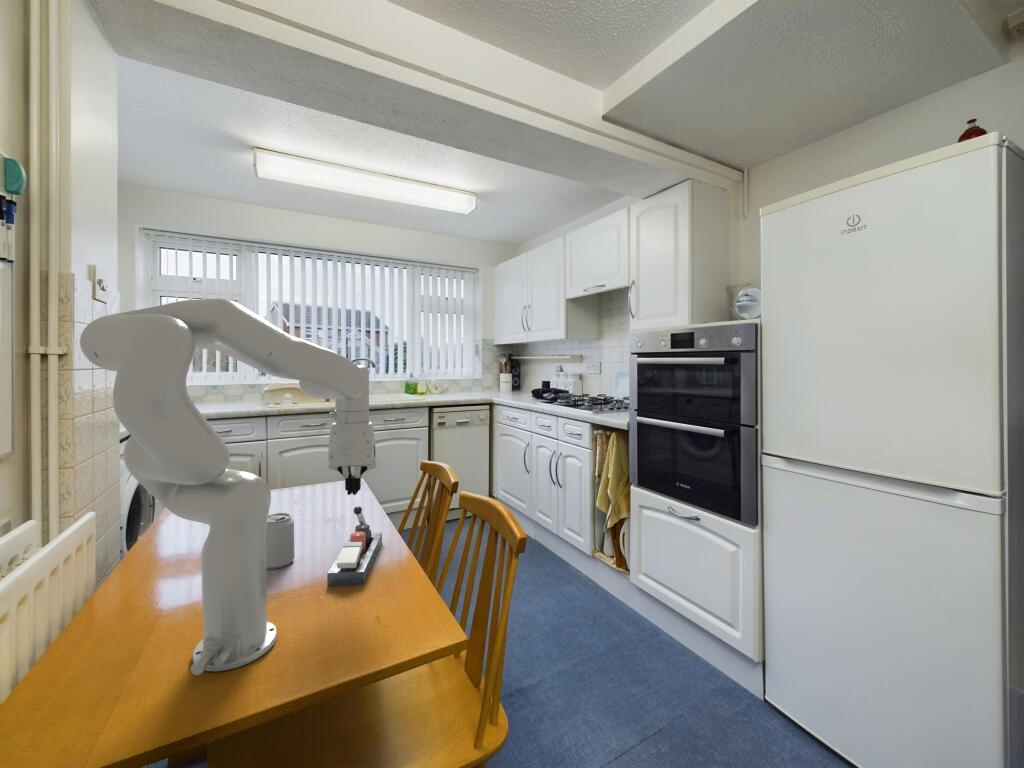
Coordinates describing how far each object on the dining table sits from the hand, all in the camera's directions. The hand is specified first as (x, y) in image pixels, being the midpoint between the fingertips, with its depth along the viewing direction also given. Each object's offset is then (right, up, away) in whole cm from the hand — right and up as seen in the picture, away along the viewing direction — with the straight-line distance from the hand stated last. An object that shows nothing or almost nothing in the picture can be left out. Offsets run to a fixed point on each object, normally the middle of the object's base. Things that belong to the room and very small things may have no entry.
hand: (353, 492), depth 104 cm
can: (-20, -19, +4) cm, 28 cm away
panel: (-1, -19, +5) cm, 20 cm away
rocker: (0, -14, -2) cm, 14 cm away
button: (-1, -16, +5) cm, 17 cm away
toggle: (-2, -14, +14) cm, 20 cm away
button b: (-1, -16, +10) cm, 19 cm away
